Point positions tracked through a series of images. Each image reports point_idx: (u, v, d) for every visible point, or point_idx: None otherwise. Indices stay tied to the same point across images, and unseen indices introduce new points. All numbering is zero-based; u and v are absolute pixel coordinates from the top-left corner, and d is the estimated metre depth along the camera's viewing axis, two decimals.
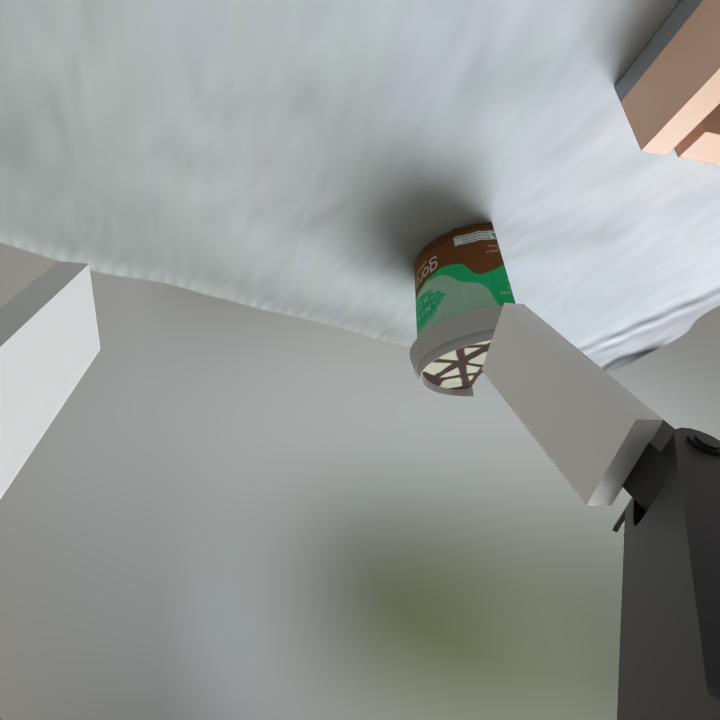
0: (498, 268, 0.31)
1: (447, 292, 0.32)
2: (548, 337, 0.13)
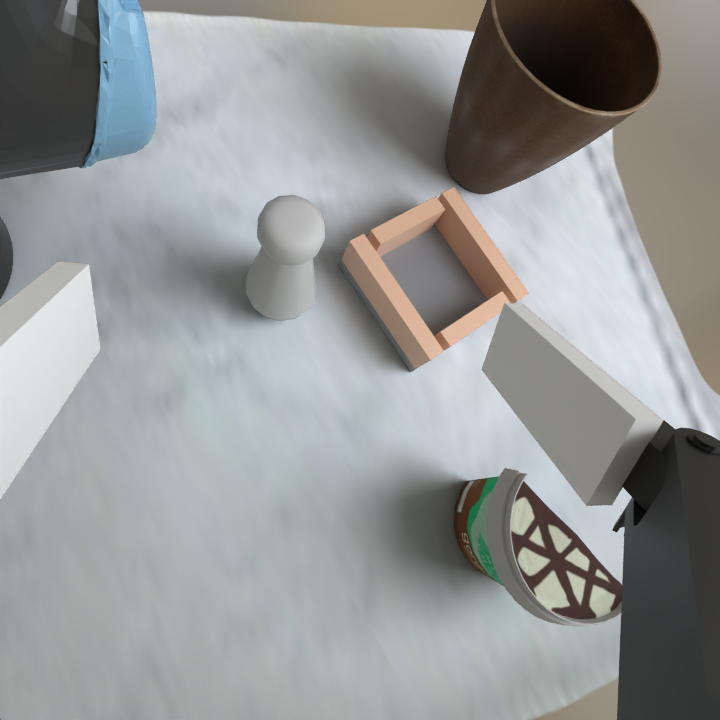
0: (486, 482, 0.36)
1: (479, 530, 0.33)
2: (548, 337, 0.13)
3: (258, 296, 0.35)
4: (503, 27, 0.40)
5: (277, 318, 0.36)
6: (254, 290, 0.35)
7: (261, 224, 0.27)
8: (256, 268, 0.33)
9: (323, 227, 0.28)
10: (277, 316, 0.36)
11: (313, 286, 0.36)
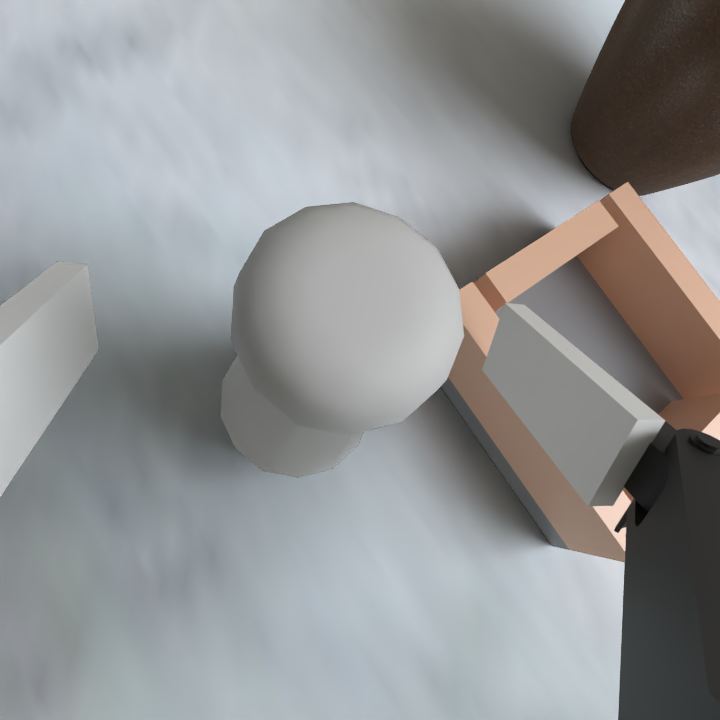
0: None
1: None
2: (549, 337, 0.13)
3: (246, 441, 0.15)
4: None
5: (291, 475, 0.16)
6: (237, 428, 0.15)
7: (242, 313, 0.07)
8: (239, 393, 0.12)
9: (459, 311, 0.08)
10: (292, 474, 0.16)
11: None
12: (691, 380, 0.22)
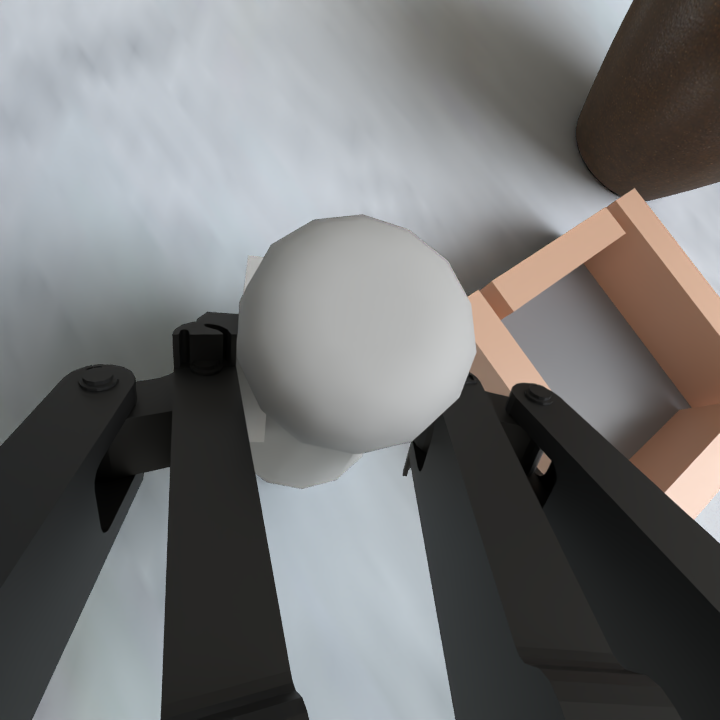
0: None
1: None
2: None
3: None
4: None
5: (295, 486, 0.16)
6: None
7: (249, 330, 0.07)
8: None
9: (471, 327, 0.08)
10: (295, 485, 0.16)
11: None
12: (699, 388, 0.22)
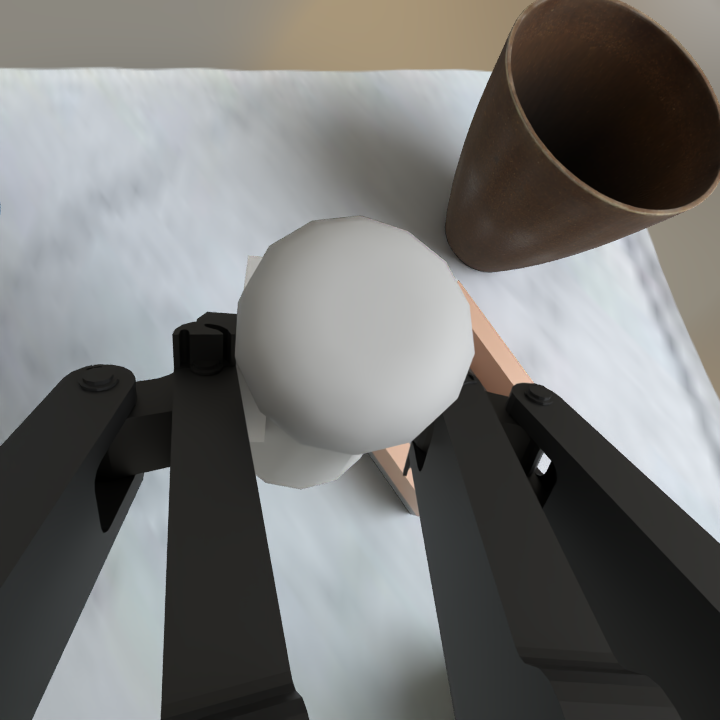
0: None
1: None
2: None
3: None
4: (516, 82, 0.31)
5: (294, 487, 0.16)
6: None
7: (247, 331, 0.07)
8: None
9: (469, 328, 0.08)
10: (295, 486, 0.16)
11: None
12: None
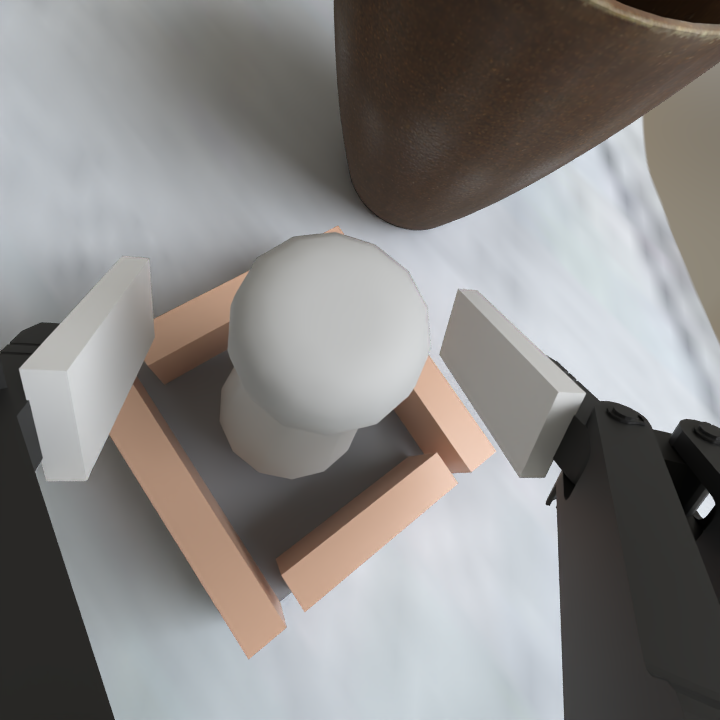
0: None
1: None
2: (493, 320, 0.14)
3: (243, 444, 0.16)
4: None
5: (286, 477, 0.18)
6: (235, 433, 0.16)
7: (237, 329, 0.08)
8: (237, 399, 0.14)
9: (427, 327, 0.09)
10: (286, 475, 0.17)
11: None
12: (420, 435, 0.21)
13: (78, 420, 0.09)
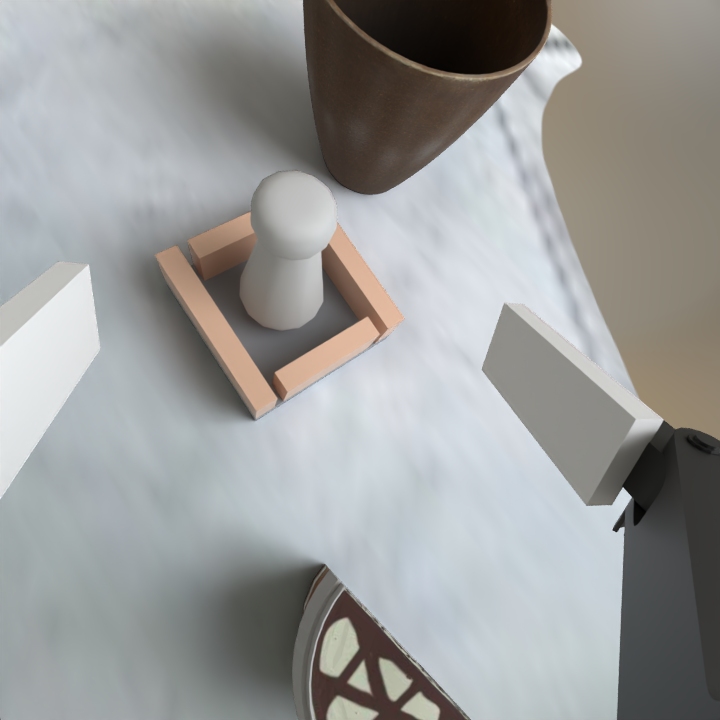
0: None
1: None
2: (548, 337, 0.13)
3: (254, 300, 0.28)
4: None
5: (277, 328, 0.30)
6: (249, 294, 0.28)
7: (255, 206, 0.21)
8: (251, 266, 0.26)
9: (335, 210, 0.22)
10: (277, 325, 0.30)
11: (321, 289, 0.29)
12: (363, 316, 0.33)
13: None
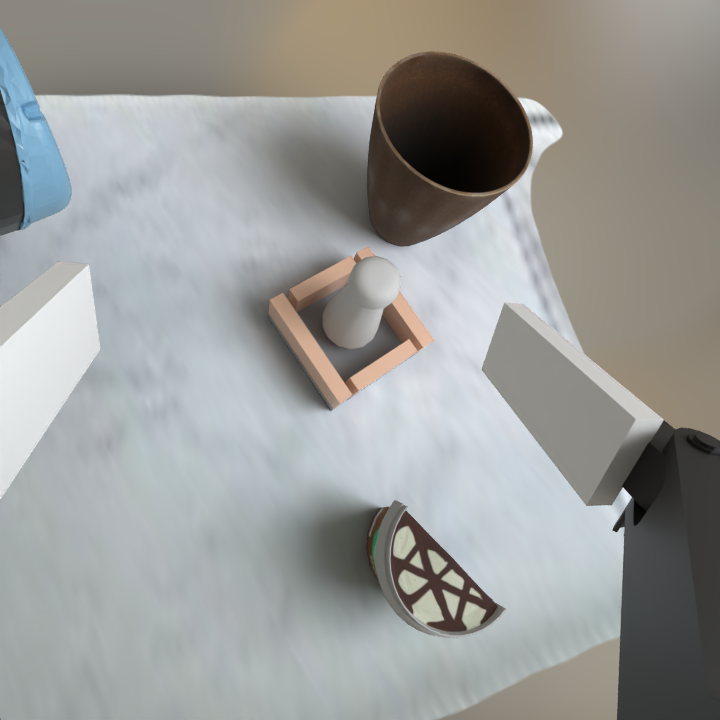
0: None
1: None
2: (548, 337, 0.13)
3: (336, 330, 0.43)
4: (406, 109, 0.45)
5: (349, 347, 0.44)
6: (332, 326, 0.43)
7: (353, 280, 0.35)
8: (338, 309, 0.41)
9: (399, 280, 0.36)
10: (349, 346, 0.44)
11: (379, 321, 0.44)
12: (403, 337, 0.48)
13: None
